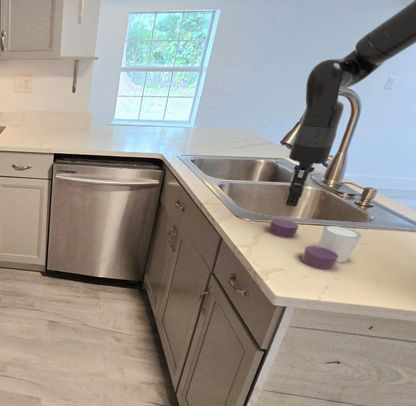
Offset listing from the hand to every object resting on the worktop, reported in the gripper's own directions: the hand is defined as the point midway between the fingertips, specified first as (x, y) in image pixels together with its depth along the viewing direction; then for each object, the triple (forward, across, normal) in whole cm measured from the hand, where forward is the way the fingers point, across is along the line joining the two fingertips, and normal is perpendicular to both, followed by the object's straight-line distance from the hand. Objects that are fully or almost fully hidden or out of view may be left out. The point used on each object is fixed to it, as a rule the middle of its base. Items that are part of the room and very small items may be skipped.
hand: (293, 200), depth 99 cm
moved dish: (+10, 0, 0) cm, 10 cm away
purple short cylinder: (+10, -13, -8) cm, 19 cm away
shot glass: (+10, -6, -11) cm, 16 cm away
